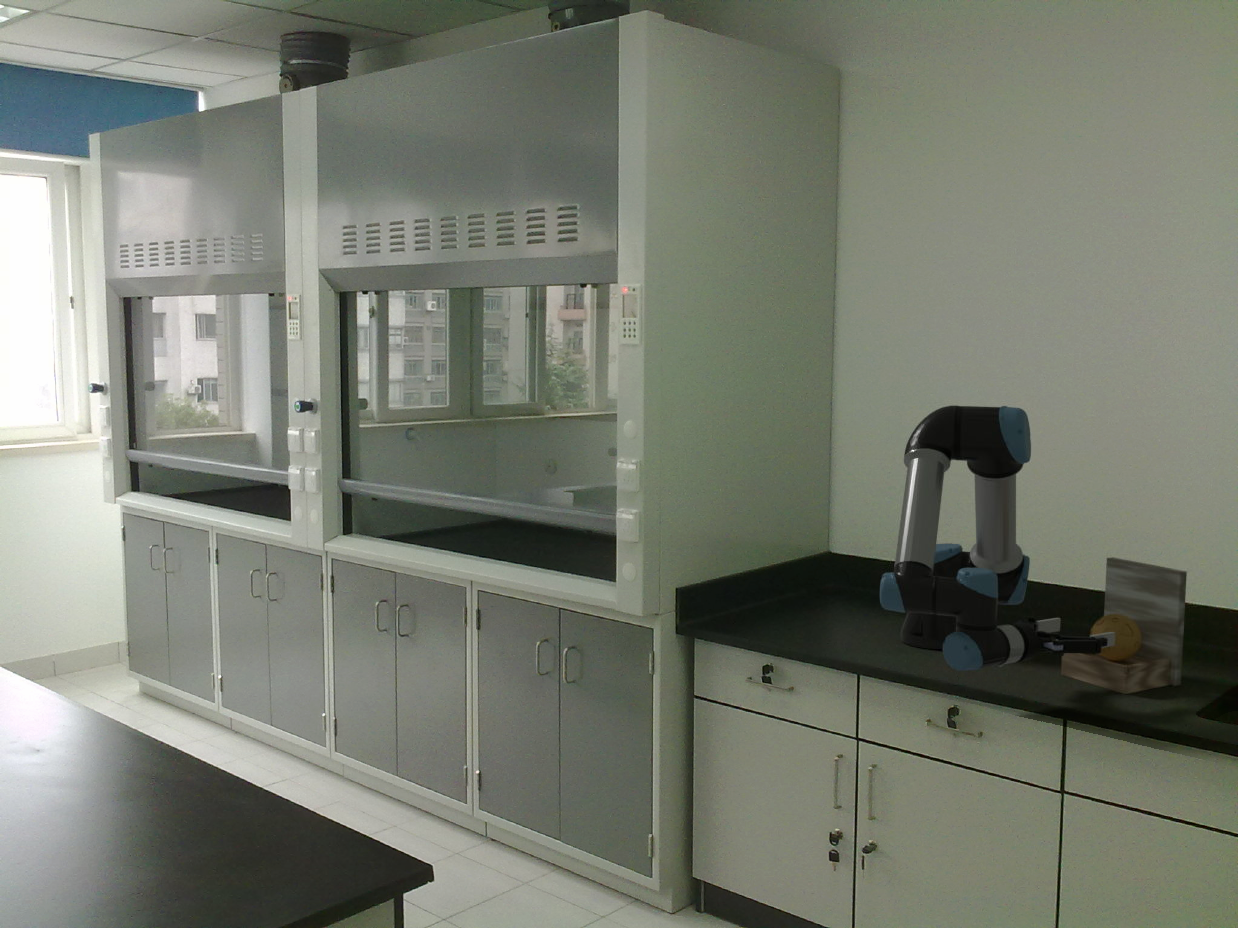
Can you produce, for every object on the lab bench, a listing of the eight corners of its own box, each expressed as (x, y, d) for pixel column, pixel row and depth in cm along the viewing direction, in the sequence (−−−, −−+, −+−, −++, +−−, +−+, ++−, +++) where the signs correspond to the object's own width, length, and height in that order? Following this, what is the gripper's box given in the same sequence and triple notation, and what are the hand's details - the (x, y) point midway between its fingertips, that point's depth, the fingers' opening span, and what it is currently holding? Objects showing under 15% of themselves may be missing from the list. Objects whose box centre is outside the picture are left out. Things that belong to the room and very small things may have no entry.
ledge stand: (1129, 695, 234) (1134, 578, 232) (1057, 673, 250) (1062, 563, 247) (1180, 684, 242) (1186, 571, 239) (1107, 663, 257) (1112, 557, 255)
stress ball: (1113, 657, 251) (1077, 627, 251) (1148, 627, 247) (1112, 597, 248) (1119, 677, 242) (1082, 646, 242) (1155, 646, 238) (1118, 615, 238)
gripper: (964, 647, 241) (1036, 635, 251) (1061, 677, 219) (1136, 663, 229) (965, 612, 240) (1038, 601, 250) (1063, 638, 218) (1138, 626, 228)
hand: (1085, 631), depth 240 cm, fingers open, 13 cm apart
